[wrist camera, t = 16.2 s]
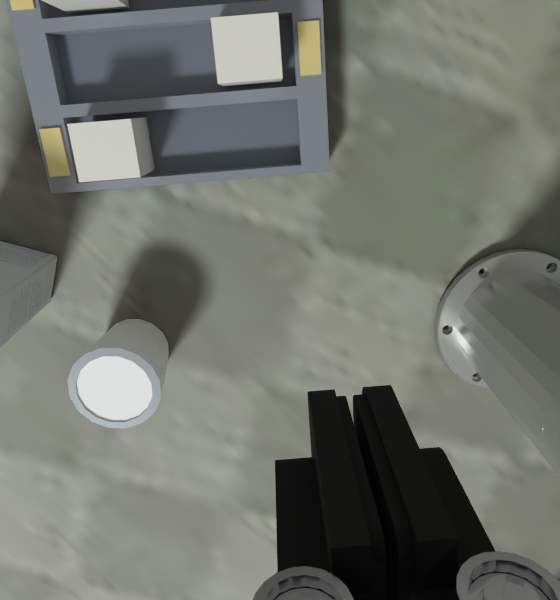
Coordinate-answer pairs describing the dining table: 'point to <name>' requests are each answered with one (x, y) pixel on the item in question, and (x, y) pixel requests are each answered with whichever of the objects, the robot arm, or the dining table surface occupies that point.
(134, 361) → the grey cylinder
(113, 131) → the tab inner
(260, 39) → the tab middle
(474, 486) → the dining table surface
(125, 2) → the white cube
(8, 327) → the skincare box
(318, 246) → the dining table surface
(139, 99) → the switch bank
